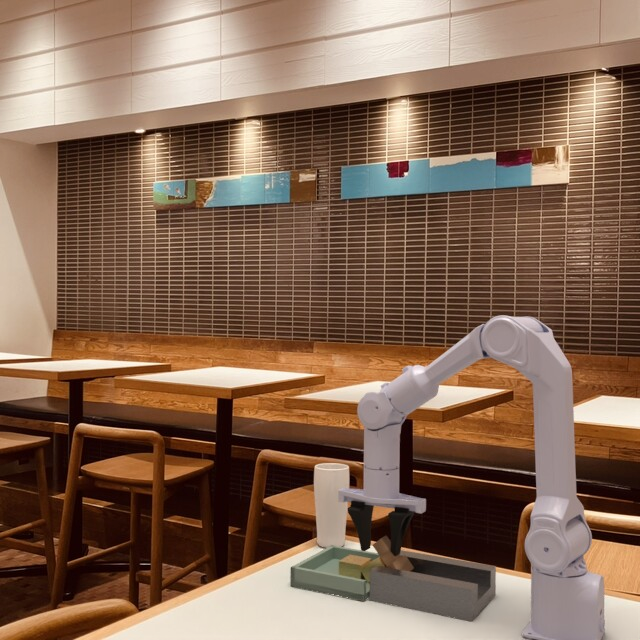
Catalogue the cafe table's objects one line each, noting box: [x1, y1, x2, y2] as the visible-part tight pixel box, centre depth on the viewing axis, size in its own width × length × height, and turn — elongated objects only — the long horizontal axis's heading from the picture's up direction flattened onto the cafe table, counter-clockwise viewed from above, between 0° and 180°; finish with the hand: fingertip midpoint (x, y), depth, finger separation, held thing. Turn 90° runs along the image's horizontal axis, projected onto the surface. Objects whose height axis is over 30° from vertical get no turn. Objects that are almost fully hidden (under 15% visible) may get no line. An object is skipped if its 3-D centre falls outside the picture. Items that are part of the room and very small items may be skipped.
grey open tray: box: [369, 549, 497, 622], centre depth 114 cm, size 16×12×4 cm
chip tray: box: [289, 545, 380, 602], centre depth 121 cm, size 13×14×3 cm
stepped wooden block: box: [372, 535, 414, 572], centre depth 117 cm, size 2×5×6 cm
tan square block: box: [360, 557, 387, 583], centre depth 119 cm, size 4×4×2 cm
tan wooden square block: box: [339, 555, 372, 579], centre depth 121 cm, size 4×4×2 cm
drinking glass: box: [313, 462, 350, 549], centre depth 141 cm, size 7×7×15 cm
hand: (380, 551), depth 119 cm, fingers open, 5 cm apart
